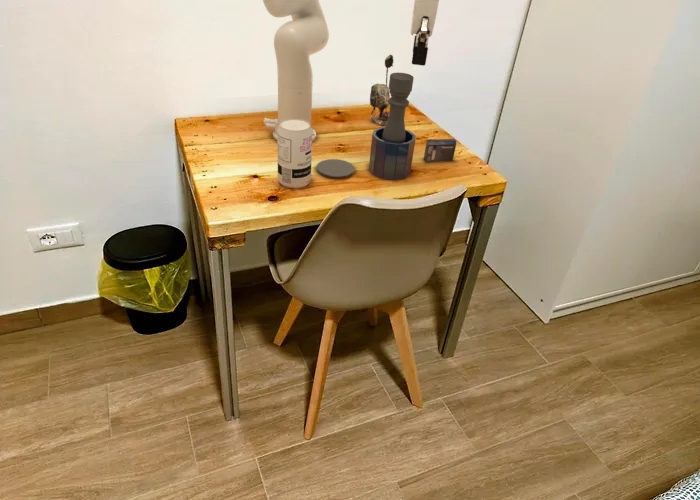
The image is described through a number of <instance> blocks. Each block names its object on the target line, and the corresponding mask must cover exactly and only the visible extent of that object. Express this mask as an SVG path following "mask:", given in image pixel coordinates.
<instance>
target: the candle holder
mask: <svg viewBox="0 0 700 500" xmlns="http://www.w3.org/2000/svg"><path fill="white" fill-rule="evenodd" d="M414 79H415V77H414V76H413V75H412V74H410V73H405V72H392V73H390V74H389V80H388V88H389V93H390V94H389V95H390V98H389V99H388V103H389V111H388V112H389V118H388V120H387V123H386V125H384V127H385V128H384V131H383V134H382V140H384V141H387V142H392V143H404V142H405V140H406V134H405V129H406V124H405V123H406V122H405V116H406V115H405V114H406V109H407V107H408V106H409V104H410V101H409V100H408V98H409V96H410V95H411V93H412V92H413V85H414Z"/></svg>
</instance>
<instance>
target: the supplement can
mask: <svg viewBox="0 0 700 500" xmlns="http://www.w3.org/2000/svg"><path fill="white" fill-rule="evenodd" d="M311 128H312V126H311V127H310V124H309V123H308V122H307V121H304V120H300V119H287V120H284V121H282V122H281V123H280V126H279V127H278V129H277V139H278V141H277V181H278V182H279V184H281V185H282V186H283V187H285V188H288V189H302V188H304V187H306V186H307V185H308V184H310V182H311V181H312V159H313V141H312V133H313V132H312V129H313V128H312V129H311Z"/></svg>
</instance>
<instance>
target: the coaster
mask: <svg viewBox="0 0 700 500" xmlns="http://www.w3.org/2000/svg"><path fill="white" fill-rule="evenodd" d="M315 168H316V169H315V170H316V172H317V173H318V175H320V176H321V177H324V178H326V179H330V180H331V179H332V180H344V179H348V178H351V177H352V176H354V174H355V172H356V171H355V166H354V165H353V164H352V163H351V162H348V161H347V160H344V159H337V158H330V159H324V160H321V161H319V162H318V163H317V164H316V167H315Z"/></svg>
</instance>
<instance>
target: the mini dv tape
mask: <svg viewBox="0 0 700 500" xmlns="http://www.w3.org/2000/svg"><path fill="white" fill-rule="evenodd" d="M456 147H457V140H456V139H455V138H439V139H438V138H437V139H426V143H425V149H424V155H423V161H424V162H425V163H436V162H437V163H438V162H439V163H440V162H453V161H454V156H455V151H456Z"/></svg>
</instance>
